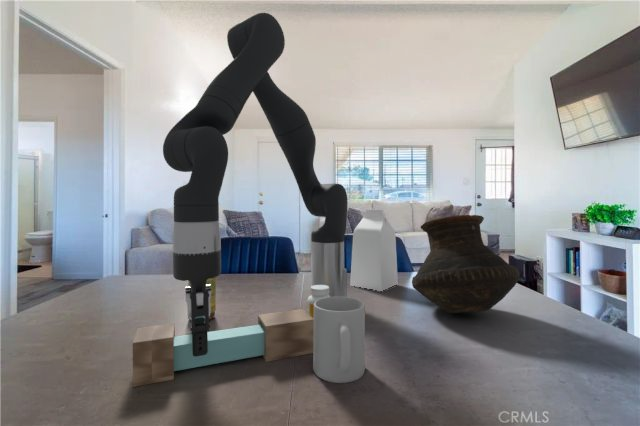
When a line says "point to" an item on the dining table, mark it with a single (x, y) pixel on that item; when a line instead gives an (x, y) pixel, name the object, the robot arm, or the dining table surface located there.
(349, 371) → the mug
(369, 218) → the milk
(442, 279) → the ceramic pot
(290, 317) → the wooden block
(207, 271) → the robot arm
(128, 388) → the dining table surface
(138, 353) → the socket
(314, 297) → the supplement bottle
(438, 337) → the dining table surface
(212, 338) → the long turquoise beam
